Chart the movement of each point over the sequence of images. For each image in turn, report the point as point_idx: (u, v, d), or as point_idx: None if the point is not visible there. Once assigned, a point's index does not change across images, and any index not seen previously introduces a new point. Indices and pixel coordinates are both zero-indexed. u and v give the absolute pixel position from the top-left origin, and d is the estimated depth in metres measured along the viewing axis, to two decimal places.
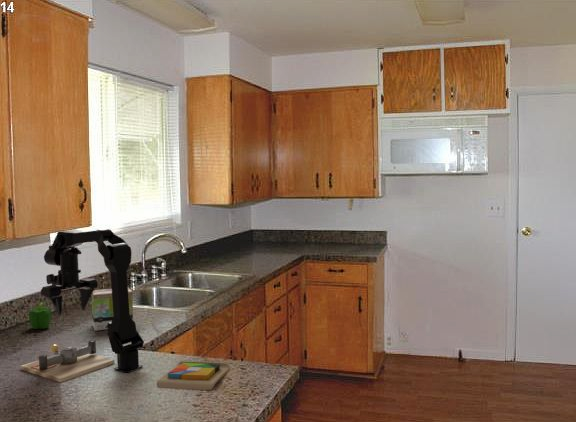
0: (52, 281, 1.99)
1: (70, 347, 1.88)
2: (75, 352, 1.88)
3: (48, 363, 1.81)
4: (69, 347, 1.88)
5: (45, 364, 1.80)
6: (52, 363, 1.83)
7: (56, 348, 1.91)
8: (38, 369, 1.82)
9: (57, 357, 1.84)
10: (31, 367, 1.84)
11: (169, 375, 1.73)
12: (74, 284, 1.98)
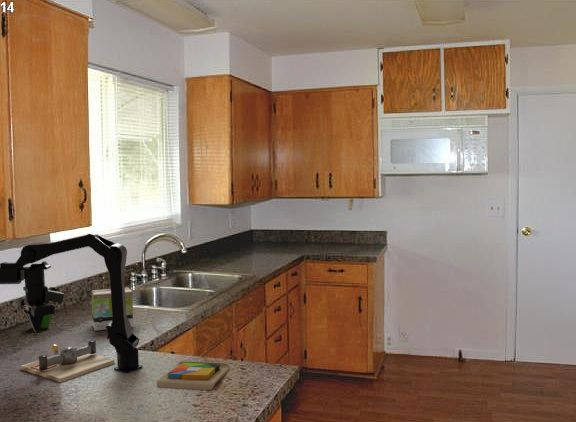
0: None
1: (70, 347, 1.88)
2: (75, 352, 1.88)
3: (48, 363, 1.81)
4: (69, 347, 1.88)
5: (45, 364, 1.80)
6: (52, 363, 1.83)
7: (56, 348, 1.91)
8: (38, 369, 1.82)
9: (57, 357, 1.84)
10: (31, 367, 1.84)
11: (169, 375, 1.73)
12: (25, 302, 1.81)
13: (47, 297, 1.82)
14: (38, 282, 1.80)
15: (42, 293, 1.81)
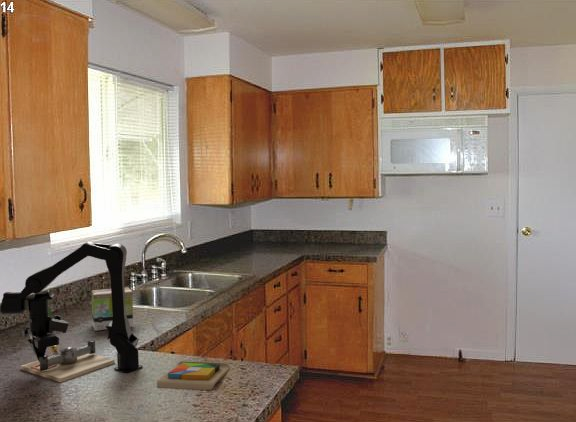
0: None
1: (70, 347, 1.88)
2: (75, 352, 1.88)
3: (49, 363, 1.81)
4: (69, 347, 1.88)
5: (46, 364, 1.80)
6: (53, 363, 1.83)
7: (55, 348, 1.91)
8: (38, 369, 1.82)
9: (57, 357, 1.84)
10: (31, 367, 1.84)
11: (169, 375, 1.73)
12: (29, 332, 1.80)
13: (51, 327, 1.81)
14: (43, 312, 1.79)
15: (46, 323, 1.80)
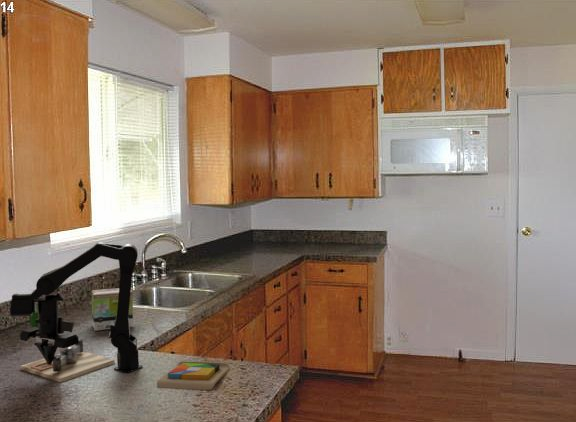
0: None
1: (70, 347, 1.88)
2: (76, 351, 1.89)
3: (61, 364, 1.80)
4: (69, 347, 1.88)
5: (60, 365, 1.79)
6: (63, 363, 1.82)
7: None
8: (38, 369, 1.82)
9: (65, 357, 1.84)
10: (31, 367, 1.84)
11: (169, 375, 1.73)
12: (40, 335, 1.77)
13: (62, 327, 1.80)
14: (54, 313, 1.77)
15: (58, 323, 1.79)
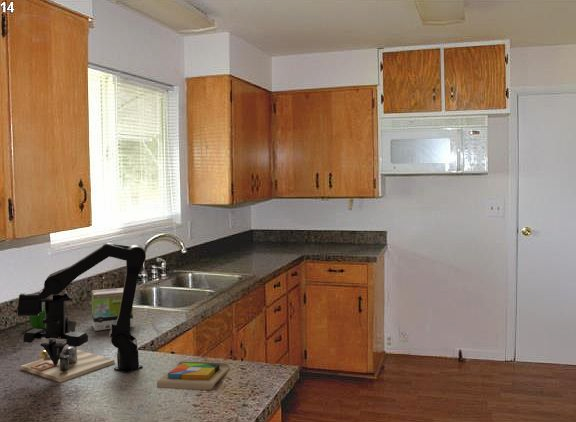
0: None
1: (69, 347, 1.89)
2: None
3: None
4: (68, 347, 1.88)
5: (68, 364, 1.80)
6: (68, 363, 1.82)
7: (47, 353, 1.87)
8: (38, 369, 1.82)
9: (68, 357, 1.84)
10: (31, 367, 1.84)
11: (169, 375, 1.73)
12: (49, 335, 1.76)
13: (68, 327, 1.81)
14: (61, 313, 1.77)
15: (65, 323, 1.79)
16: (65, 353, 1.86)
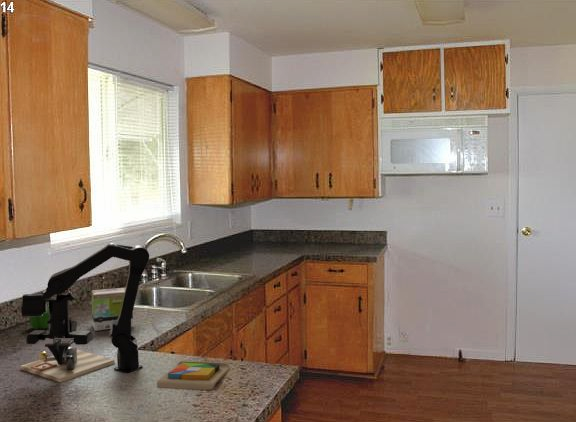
0: None
1: (69, 347, 1.89)
2: None
3: None
4: None
5: (74, 363, 1.80)
6: None
7: (47, 354, 1.85)
8: (38, 369, 1.82)
9: None
10: (31, 367, 1.84)
11: (169, 375, 1.73)
12: (54, 335, 1.76)
13: (72, 326, 1.81)
14: (65, 313, 1.77)
15: (69, 322, 1.80)
16: (67, 353, 1.86)
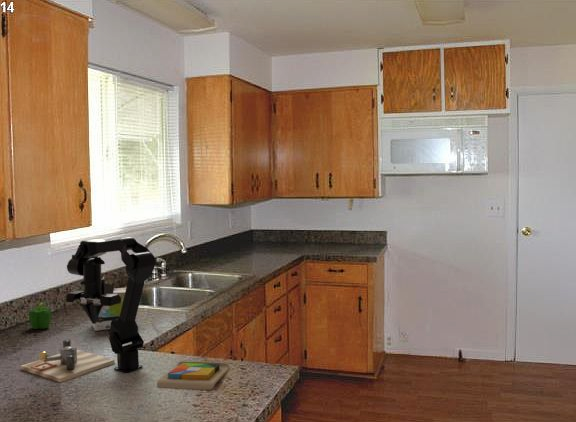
0: None
1: (69, 347, 1.89)
2: None
3: None
4: (68, 347, 1.88)
5: (74, 363, 1.80)
6: None
7: (47, 354, 1.85)
8: (38, 369, 1.82)
9: None
10: (31, 367, 1.84)
11: (169, 375, 1.73)
12: (86, 295, 1.92)
13: (105, 289, 1.95)
14: (90, 276, 1.91)
15: (101, 285, 1.94)
16: (67, 353, 1.86)
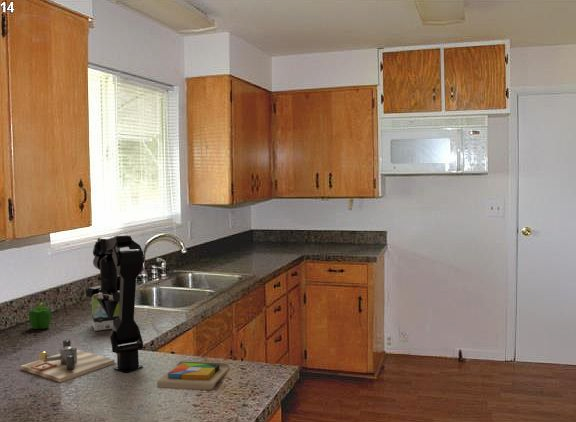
0: None
1: (69, 347, 1.89)
2: None
3: None
4: (68, 347, 1.88)
5: (74, 363, 1.80)
6: None
7: (47, 354, 1.85)
8: (38, 369, 1.82)
9: None
10: (31, 367, 1.84)
11: (169, 375, 1.72)
12: (102, 291, 1.98)
13: None
14: (104, 273, 1.97)
15: (117, 281, 2.00)
16: (67, 353, 1.86)
